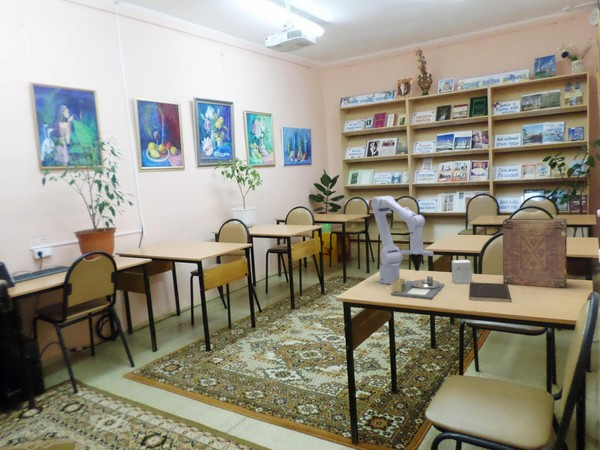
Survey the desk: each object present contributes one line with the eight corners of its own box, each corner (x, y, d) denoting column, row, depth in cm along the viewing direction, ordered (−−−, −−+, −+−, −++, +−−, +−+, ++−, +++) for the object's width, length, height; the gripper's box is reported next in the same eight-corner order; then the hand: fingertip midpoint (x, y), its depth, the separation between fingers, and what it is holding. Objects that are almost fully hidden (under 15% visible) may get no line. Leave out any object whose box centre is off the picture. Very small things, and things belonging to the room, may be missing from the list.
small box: (468, 280, 210) (468, 259, 209) (472, 283, 204) (471, 261, 203) (451, 281, 210) (451, 260, 209) (455, 283, 205) (454, 262, 204)
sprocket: (418, 290, 193) (417, 279, 192) (407, 283, 206) (406, 272, 205) (445, 287, 195) (444, 276, 194) (432, 280, 207) (432, 270, 207)
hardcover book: (469, 301, 179) (469, 296, 179) (470, 287, 200) (469, 282, 200) (511, 303, 173) (511, 298, 172) (507, 288, 194) (507, 283, 193)
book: (566, 283, 194) (567, 218, 191) (566, 288, 186) (567, 221, 183) (505, 279, 208) (505, 218, 204) (502, 283, 200) (502, 220, 197)
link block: (392, 292, 193) (392, 281, 193) (396, 288, 198) (396, 277, 198) (401, 292, 191) (400, 281, 191) (405, 289, 196) (404, 278, 196)
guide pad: (407, 294, 189) (407, 293, 189) (412, 289, 196) (412, 287, 196) (425, 295, 185) (425, 294, 185) (430, 290, 192) (430, 289, 192)
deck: (391, 295, 192) (391, 293, 192) (407, 282, 212) (407, 280, 212) (431, 299, 182) (431, 297, 182) (444, 285, 203) (444, 283, 203)
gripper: (398, 242, 196) (399, 271, 197) (430, 243, 188) (431, 273, 190) (403, 240, 202) (403, 268, 203) (434, 240, 194) (434, 269, 196)
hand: (417, 270), depth 197 cm, fingers closed
